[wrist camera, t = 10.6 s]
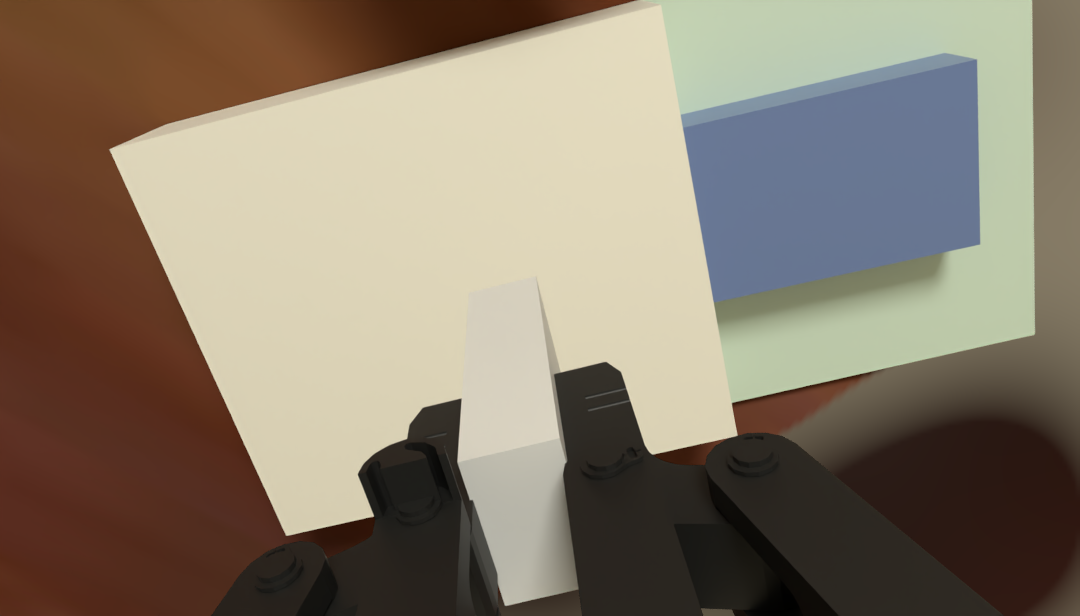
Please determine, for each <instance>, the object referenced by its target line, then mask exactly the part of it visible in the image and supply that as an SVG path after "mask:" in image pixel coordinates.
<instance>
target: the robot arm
mask: <svg viewBox="0 0 1080 616" xmlns="http://www.w3.org/2000/svg"><path fill="white" fill-rule="evenodd" d="M358 477H359V479H360V482H361V484H362V487H363V489H364V492H365V494H366V497H367V500H368V502H369V505H370V507H371V510H372V512H373V515H374V517H375V524H374V529H373V534H372V536H371V537H369V538H368V539H366V540H365V541H363V542H361V543H359V544H357V545H356V546H354V547H352V548H349V549H347V550H345V551H343V552H341V553H338V554H336V555H334V556H332V557H330V558H327V557H326V555H325V553H324V550H323V548H321V547H320V546H318V545H317V544H315V543H314V542H303V541H299V542H294V543H289V544H284V545H282V546H279V547H276V548H275V549H272V550H270V551H268V552H266V553H264V554H263V555H262V556H260V557H259V558H257V559H256V560H255V561H253V562H252V563H250V565H249V566H248V567H247V568H246V569H245V570H244V571H243V572H242V573H241V574H240V575H239V577H238V578H237V580H236V581H235V582H234V584H233V585H232V587H231V588H230V590H229V591H228V592H227V594H226V595H225V597H224V598H223V600H222V601H221V603H220V604H219V605H218V607H217V608H216V610H215V611H214V613H213V614H212V615H211V616H501V613H500V610H499V607H498V586H499V589H500V592H501V595H502V598H503V601H504V604H505V606H507V605H512V604H516V603H521V602H524V601H529V600H533V599H538V598H542V597H547V596H551V595H556V594H560V593H564V592H568V591H573V590H577V589H579V596H580V603H581V610H582V616H703V614H702V610H701V608H709V609H732V610H733V613H734V615H735V616H1003V615H1002V614H1001V613H1000V612H999V611H998V610H996V609H995V608H994V607H993V606H991V605H990V604H989V603H988V602H987V601H985V600H984V599H983V598H982V597H981V596H979V595H978V594H977V593H976V592H975V591H973V590H972V589H971V588H970V587H968V586H967V585H966V584H965V583H963V582H962V581H961V580H960V579H959V578H958V577H956V576H955V575H954V574H953V573H952V572H950V571H949V570H948V569H947V568H945V567H944V566H943V565H942V564H941V563H939V562H938V561H937V560H936V559H935V558H933V557H932V556H931V555H930V554H929V553H927V552H926V551H925V550H924V549H923V548H921V547H920V546H919V545H918V544H917V543H915V542H914V541H913V540H912V539H910V538H909V537H908V536H907V535H906V534H904V533H903V532H902V531H901V530H900V529H898V528H897V527H896V526H895V525H894V524H892V523H891V522H890V521H889V520H888V519H886V518H885V517H884V516H883V515H882V514H880V513H879V512H878V511H877V510H876V509H874V508H873V507H872V506H871V505H869V504H868V503H867V502H866V501H865V500H863V499H862V498H861V497H860V496H859V495H857V494H856V493H855V492H854V491H853V490H851V489H850V488H849V487H848V486H846V485H845V484H844V483H843V482H842V481H840V480H839V479H838V478H837V477H836V476H834V475H833V474H832V473H831V472H830V471H828V470H827V469H826V468H825V467H824V466H822V465H821V464H820V463H819V462H818V461H816V460H815V459H814V458H813V457H811V456H810V455H809V454H808V453H807V452H805V451H804V450H803V449H802V448H801V447H799V446H798V445H797V444H796V443H794V442H792V441H790V440H788V439H787V438H785V437H783V436H779V435H774V434H769V433H747V434H743V435H739V436H735V437H731V438H729V439H727V440H725V441H723V442H721V443H720V444H718V445H716V446H715V447H714V448H713V449H712V451H711V452H710V453H709V454H708V455H707V459H706V464H705V465H677V464H673V463H669V462H665V461H663V460H660V459H658V458H656V457H655V456H653V455H652V454H651V453H650V452H649V451H648V450H647V448H646V446H645V444H644V441H643V438H642V435H641V432H640V429H639V426H638V423H637V419H636V416H635V413H634V410H633V407H632V404H631V401H630V398H629V395H628V392H627V389H626V385H625V382H624V379H623V376H622V373H621V371H619V370H618V369H616V368H615V367H613V366H612V365H610V364H609V363H607V362H602V363H598V364H594V365H590V366H586V367H581V368H577V369H573V370H569V371H565V372H561V371H560V367H559V363H558V359H557V356H556V352H555V348H554V344H553V340H552V336H551V332H550V329H549V325H548V321H547V317H546V313H545V309H544V305H543V302H542V298H541V294H540V290H539V286H538V282H537V278H536V276H535V277H531V278H527V279H523V280H519V281H515V282H510V283H506V284H502V285H498V286H494V287H490V288H486V289H482V290H478V291H474V292H470V293H469V300H468V314H467V329H466V343H465V358H464V373H463V387H462V398H461V399H457V400H452V401H448V402H444V403H440V404H436V405H432V406H427V407H423V408H422V409H421V411H420V412H419V413H418V414H417V416H416V417H415V418H414V419H413V421H412V422H411V423H410V425H409V430H408V436H407V439H405V440H402V441H399V442H397V443H394V444H391V445H389V446H387V447H385V448H383V449H382V450H380V451H378V452H376V453H375V454H373V455H372V456H371V457H370V458H369V459H368V460H367V461H366V462H365V463H364V464H363V465H362V467H361V469H360V471H359V473H358Z"/></svg>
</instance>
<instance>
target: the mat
mask: <svg viewBox="0 0 1080 616" xmlns="http://www.w3.org/2000/svg"><path fill="white" fill-rule="evenodd" d="M644 1H648V2H652V3H656V4H660V5H661V7H662V13H663V19H664V24H665V30H666V36H667V41H668V47H669V53H670V58H671V64H672V70H673V75H674V81H675V87H676V92H677V98H678V104H679V109H680V115H681V114H686V113H690V112H694V111H699V110H703V109H707V108H711V107H716V106H720V105H724V104H729V103H733V102H737V101H741V100H746V99H750V98H754V97H758V96H763V95H767V94H771V93H776V92H780V91H784V90H788V89H793V88H797V87H801V86H805V85H810V84H814V83H818V82H823V81H827V80H831V79H835V78H840V77H844V76H848V75H852V74H857V73H861V72H865V71H870V70H874V69H878V68H882V67H887V66H891V65H895V64H900V63H904V62H908V61H912V60H917V59H921V58H925V57H929V56H934V55H938V54H942V53H948V54H953V55H958V56H963V57H968V58H973V59H977V78H978V137H979V197H980V245H976V246H971V247H967V248H962V249H957V250H953V251H948V252H944V253H939V254H935V255H930V256H925V257H921V258H916V259H912V260H907V261H902V262H898V263H893V264H889V265H884V266H879V267H875V268H870V269H866V270H861V271H857V272H852V273H847V274H843V275H838V276H834V277H829V278H824V279H820V280H815V281H811V282H806V283H801V284H797V285H792V286H788V287H783V288H779V289H774V290H769V291H765V292H760V293H756V294H751V295H746V296H742V297H737V298H733V299H728V300H723V301H719V302H714V307H715V313H716V318H717V324H718V330H719V335H720V341H721V346H722V352H723V358H724V363H725V369H726V375H727V380H728V386H729V392H730V397H731V403H733V402H738V401H742V400H747V399H751V398H756V397H760V396H765V395H769V394H773V393H778V392H782V391H787V390H791V389H796V388H800V387H805V386H809V385H813V384H818V383H822V382H827V381H831V380H836V379H840V378H845V377H849V376H853V375H858V374H862V373H867V372H871V371H876V370H880V369H885V368H889V367H893V366H898V365H902V364H907V363H911V362H916V361H920V360H924V359H929V358H933V357H937V356H942V355H946V354H951V353H956V352H960V351H964V350H969V349H973V348H978V347H982V346H986V345H991V344H996V343H1000V342H1004V341H1009V340H1013V339H1018V338H1022V337H1027V336H1031V335H1035V310H1034V309H1035V304H1034V303H1035V299H1034V298H1035V297H1034V189H1033V188H1034V183H1033V182H1034V178H1033V67H1032V65H1033V63H1032V61H1033V59H1032V58H1033V57H1032V0H644Z"/></svg>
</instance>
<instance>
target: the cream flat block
mask: <svg viewBox="0 0 1080 616" xmlns="http://www.w3.org/2000/svg"><path fill="white" fill-rule="evenodd" d="M110 152H111V154H112V156H113V158H114V160H115V163H116V165H117V167H118V169H119V171H120V173H121V176H122V178H123V180H124V182H125V184H126V187H127V189H128V191H129V193H130V195H131V197H132V200H133V202H134V204H135V206H136V208H137V211H138V213H139V215H140V217H141V219H142V222H143V224H144V226H145V228H146V230H147V232H148V235H149V237H150V239H151V241H152V243H153V246H154V248H155V250H156V252H157V254H158V256H159V259H160V261H161V263H162V265H163V267H164V270H165V272H166V274H167V276H168V278H169V281H170V283H171V285H172V287H173V289H174V291H175V294H176V296H177V298H178V300H179V302H180V305H181V307H182V309H183V311H184V313H185V315H186V318H187V320H188V322H189V324H190V326H191V329H192V331H193V333H194V335H195V337H196V339H197V342H198V344H199V346H200V348H201V350H202V353H203V355H204V357H205V359H206V361H207V364H208V366H209V368H210V370H211V372H212V374H213V377H214V379H215V381H216V383H217V385H218V388H219V390H220V392H221V394H222V396H223V398H224V401H225V403H226V405H227V407H228V409H229V412H230V414H231V416H232V418H233V420H234V423H235V425H236V427H237V429H238V431H239V433H240V436H241V438H242V440H243V442H244V444H245V447H246V449H247V451H248V453H249V455H250V457H251V460H252V462H253V464H254V466H255V468H256V471H257V473H258V475H259V477H260V479H261V482H262V484H263V486H264V488H265V490H266V492H267V495H268V497H269V499H270V501H271V503H272V506H273V508H274V510H275V512H276V514H277V516H278V519H279V521H280V523H281V525H282V527H283V530H284V532H285V534H286V536H288V535H292V534H297V533H301V532H306V531H310V530H315V529H319V528H324V527H328V526H333V525H337V524H342V523H347V522H351V521H356V520H360V519H365V518H369V517H374V515H373V512H372V510H371V507H370V505H369V502H368V500H367V497H366V494H365V492H364V489H363V487H362V484H361V482H360V479H359V477H358V473H359V471H360V469H361V467H362V465H363V464H364V463H365V462H366V461H367V460H368V459H369V458H370V457H371V456H372V455H373V454H375V453H376V452H378V451H380V450H382V449H383V448H385V447H387V446H389V445H391V444H394V443H397V442H399V441H402V440H405V439H407V436H408V430H409V425H410V423H411V422H412V421H413V419H414V418H415V417H416V416H417V414H418V413H419V412H420V411H421V409H422V408H423V407H427V406H432V405H436V404H440V403H444V402H448V401H452V400H457V399H461V398H462V387H463V373H464V358H465V343H466V329H467V314H468V300H469V293H470V292H474V291H478V290H482V289H486V288H490V287H494V286H498V285H502V284H506V283H510V282H515V281H519V280H523V279H527V278H531V277H535V276H536V278H537V282H538V286H539V290H540V294H541V298H542V302H543V305H544V309H545V313H546V317H547V321H548V325H549V329H550V332H551V336H552V340H553V344H554V348H555V352H556V356H557V359H558V363H559V367H560V371H561V372H565V371H569V370H573V369H577V368H581V367H586V366H590V365H594V364H598V363H602V362H607V363H609V364H610V365H612V366H613V367H615V368H616V369H618V370H619V371H621V373H622V376H623V379H624V382H625V385H626V389H627V392H628V395H629V398H630V401H631V404H632V407H633V410H634V413H635V416H636V419H637V423H638V426H639V429H640V432H641V435H642V438H643V441H644V444H645V446H646V448H647V450H648V451H649V452H650V453H651V454H652V455H653V454H658V453H662V452H667V451H671V450H676V449H680V448H685V447H689V446H694V445H698V444H703V443H707V442H712V441H716V440H721V439H725V438H730V437H734V436H737V431H736V426H735V420H734V414H733V409H732V403H731V397H730V392H729V386H728V380H727V375H726V369H725V363H724V358H723V352H722V346H721V341H720V335H719V330H718V324H717V318H716V313H715V307H714V301H713V296H712V290H711V284H710V279H709V273H708V267H707V262H706V256H705V250H704V245H703V239H702V233H701V228H700V222H699V217H698V211H697V205H696V200H695V194H694V188H693V183H692V177H691V171H690V166H689V160H688V154H687V149H686V143H685V137H684V132H683V126H682V120H681V115H680V109H679V104H678V98H677V92H676V87H675V81H674V75H673V70H672V64H671V58H670V53H669V47H668V41H667V36H666V30H665V24H664V19H663V13H662V7H661V5H660V4H656V3H652V2H648V1H644V0H637V1H633V2H629V3H625V4H622V5H618V6H614V7H610V8H606V9H603V10H599V11H595V12H591V13H587V14H584V15H580V16H576V17H572V18H568V19H565V20H561V21H557V22H553V23H549V24H546V25H542V26H538V27H534V28H530V29H527V30H523V31H519V32H515V33H511V34H508V35H504V36H500V37H496V38H492V39H489V40H485V41H481V42H477V43H473V44H470V45H466V46H462V47H458V48H454V49H451V50H447V51H443V52H439V53H436V54H432V55H428V56H424V57H420V58H417V59H413V60H409V61H405V62H401V63H398V64H394V65H390V66H386V67H382V68H379V69H375V70H371V71H367V72H363V73H360V74H356V75H352V76H348V77H344V78H341V79H337V80H333V81H329V82H325V83H322V84H318V85H314V86H310V87H306V88H303V89H299V90H295V91H291V92H287V93H284V94H280V95H276V96H272V97H268V98H265V99H261V100H257V101H253V102H249V103H246V104H242V105H238V106H234V107H230V108H227V109H223V110H219V111H215V112H211V113H208V114H204V115H200V116H196V117H192V118H189V119H185V120H181V121H177V122H173V123H170V124H166V125H164V126H161V127H159V128H157V129H155V130H152V131H150V132H148V133H146V134H143V135H141V136H139V137H136V138H134V139H132V140H130V141H127V142H125V143H123V144H121V145H118V146H116V147H114V148H112V149H110Z"/></svg>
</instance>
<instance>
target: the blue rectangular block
mask: <svg viewBox="0 0 1080 616" xmlns="http://www.w3.org/2000/svg"><path fill="white" fill-rule="evenodd" d="M681 120H682V126H683V132H684V137H685V143H686V149H687V154H688V160H689V166H690V171H691V177H692V183H693V188H694V194H695V200H696V205H697V211H698V217H699V222H700V228H701V233H702V239H703V245H704V250H705V256H706V262H707V267H708V273H709V279H710V284H711V290H712V296H713V301H714V302H719V301H723V300H728V299H733V298H737V297H742V296H746V295H751V294H756V293H760V292H765V291H769V290H774V289H779V288H783V287H788V286H792V285H797V284H801V283H806V282H811V281H815V280H820V279H824V278H829V277H834V276H838V275H843V274H847V273H852V272H857V271H861V270H866V269H870V268H875V267H879V266H884V265H889V264H893V263H898V262H902V261H907V260H912V259H916V258H921V257H925V256H930V255H935V254H939V253H944V252H948V251H953V250H957V249H962V248H967V247H971V246H976V245H980V197H979V137H978V78H977V59H973V58H968V57H963V56H958V55H953V54H948V53H942V54H938V55H934V56H929V57H925V58H921V59H917V60H912V61H908V62H904V63H900V64H895V65H891V66H887V67H882V68H878V69H874V70H870V71H865V72H861V73H857V74H852V75H848V76H844V77H840V78H835V79H831V80H827V81H823V82H818V83H814V84H810V85H805V86H801V87H797V88H793V89H788V90H784V91H780V92H776V93H771V94H767V95H763V96H758V97H754V98H750V99H746V100H741V101H737V102H733V103H729V104H724V105H720V106H716V107H711V108H707V109H703V110H699V111H694V112H690V113H686V114H681Z"/></svg>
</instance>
